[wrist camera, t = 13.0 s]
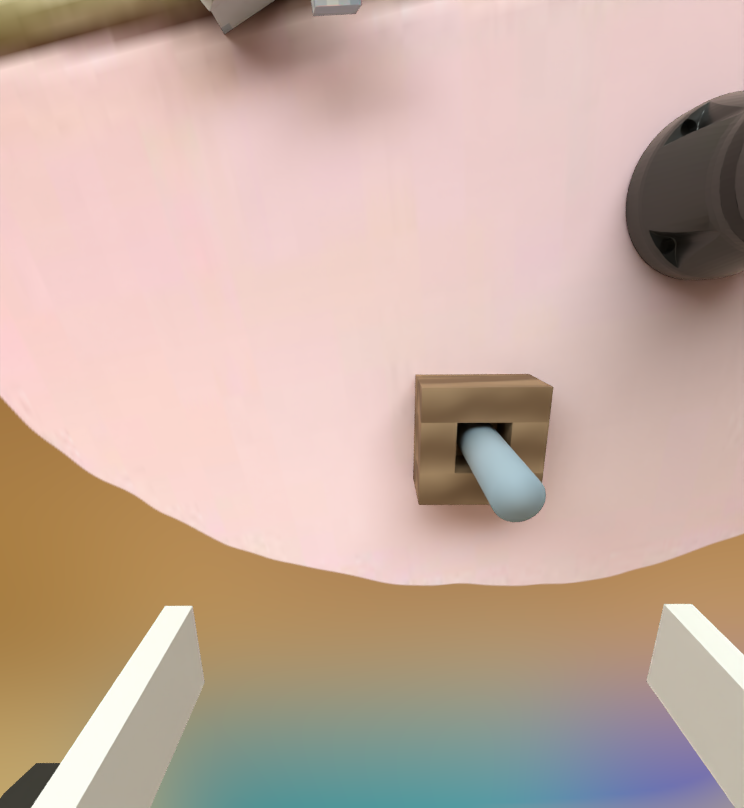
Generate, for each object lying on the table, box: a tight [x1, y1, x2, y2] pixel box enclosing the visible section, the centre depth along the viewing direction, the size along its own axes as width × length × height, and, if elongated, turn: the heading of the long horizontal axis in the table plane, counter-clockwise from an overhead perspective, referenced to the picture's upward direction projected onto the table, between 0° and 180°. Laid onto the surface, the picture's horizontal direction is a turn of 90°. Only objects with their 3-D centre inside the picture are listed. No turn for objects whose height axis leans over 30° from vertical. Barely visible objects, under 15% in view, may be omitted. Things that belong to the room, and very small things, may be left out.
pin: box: [456, 423, 546, 522], centre depth 36 cm, size 4×4×14 cm
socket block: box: [413, 374, 553, 505], centre depth 41 cm, size 12×12×6 cm
